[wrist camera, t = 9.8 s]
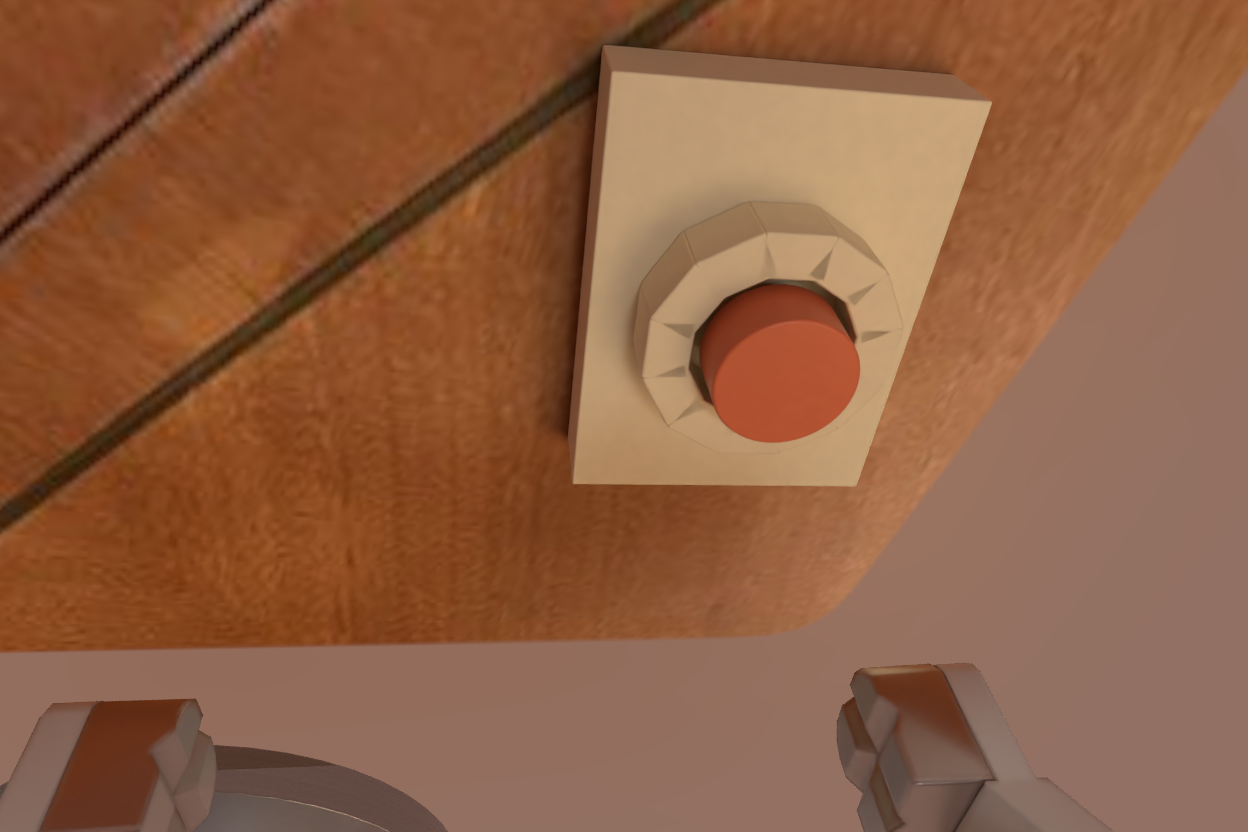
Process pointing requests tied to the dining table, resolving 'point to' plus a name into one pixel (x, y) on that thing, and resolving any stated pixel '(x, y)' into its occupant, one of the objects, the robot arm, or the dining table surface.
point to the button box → (752, 246)
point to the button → (778, 363)
